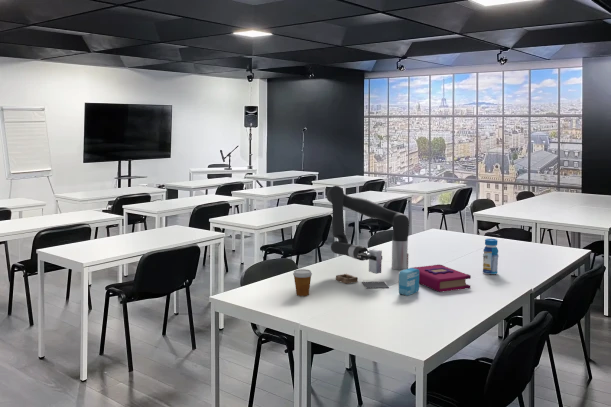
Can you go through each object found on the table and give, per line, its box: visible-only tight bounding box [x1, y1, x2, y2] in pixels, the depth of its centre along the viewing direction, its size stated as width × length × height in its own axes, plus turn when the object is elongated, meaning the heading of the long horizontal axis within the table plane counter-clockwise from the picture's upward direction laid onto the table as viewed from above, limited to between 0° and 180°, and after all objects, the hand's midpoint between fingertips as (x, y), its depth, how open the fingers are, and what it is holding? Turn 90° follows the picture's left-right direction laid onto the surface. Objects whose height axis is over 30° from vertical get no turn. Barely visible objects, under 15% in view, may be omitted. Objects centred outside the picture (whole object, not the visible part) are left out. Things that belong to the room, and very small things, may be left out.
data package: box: [398, 267, 420, 296], centre depth 282 cm, size 12×4×12 cm, turn 136°
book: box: [412, 264, 472, 293], centre depth 300 cm, size 21×28×8 cm
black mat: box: [362, 280, 390, 290], centre depth 297 cm, size 12×12×1 cm
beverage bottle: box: [482, 238, 499, 275], centre depth 320 cm, size 8×8×20 cm
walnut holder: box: [335, 273, 358, 285], centre depth 306 cm, size 10×7×2 cm
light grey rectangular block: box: [368, 248, 383, 275], centre depth 296 cm, size 6×4×12 cm, turn 34°
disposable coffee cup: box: [293, 268, 313, 297], centre depth 280 cm, size 10×10×12 cm
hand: (378, 258), depth 293 cm, fingers closed on light grey rectangular block, 3 cm apart
